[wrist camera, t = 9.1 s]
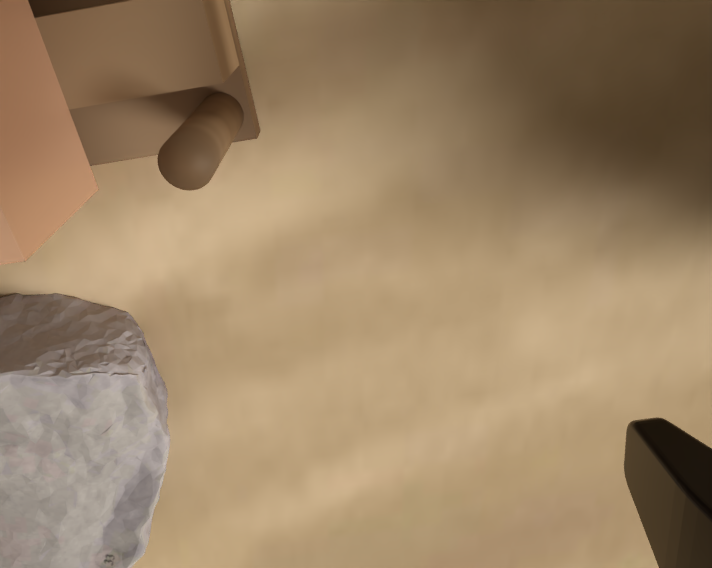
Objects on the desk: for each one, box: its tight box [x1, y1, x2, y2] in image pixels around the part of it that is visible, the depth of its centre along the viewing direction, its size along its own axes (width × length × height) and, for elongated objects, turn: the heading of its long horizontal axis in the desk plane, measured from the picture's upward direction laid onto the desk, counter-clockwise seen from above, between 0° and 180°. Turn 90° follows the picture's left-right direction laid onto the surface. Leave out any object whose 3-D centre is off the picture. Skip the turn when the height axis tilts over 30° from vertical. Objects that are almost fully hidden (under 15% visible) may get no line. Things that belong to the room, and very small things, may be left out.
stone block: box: [0, 293, 170, 568], centre depth 22 cm, size 12×5×10 cm
